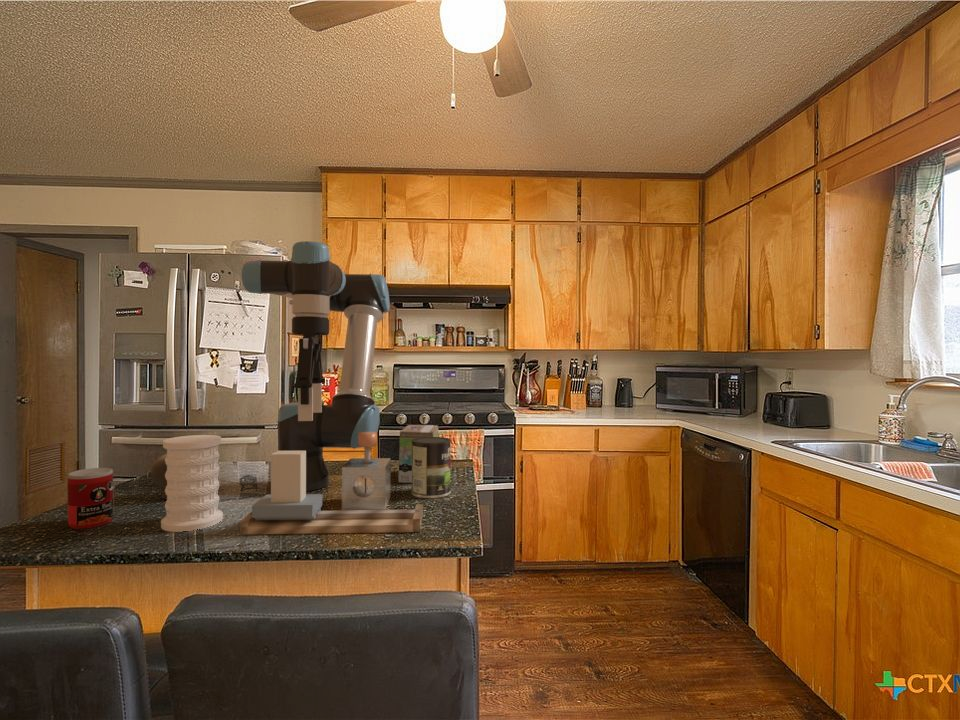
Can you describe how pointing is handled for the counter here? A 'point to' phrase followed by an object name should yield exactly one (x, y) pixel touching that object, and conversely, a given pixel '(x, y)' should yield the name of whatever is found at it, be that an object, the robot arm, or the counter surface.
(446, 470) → the coffee can
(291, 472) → the carriage
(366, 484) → the box with ball knob
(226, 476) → the counter surface
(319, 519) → the rail track
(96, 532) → the counter surface
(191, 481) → the decorative container
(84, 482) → the canned food
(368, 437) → the plunger
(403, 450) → the tea box
